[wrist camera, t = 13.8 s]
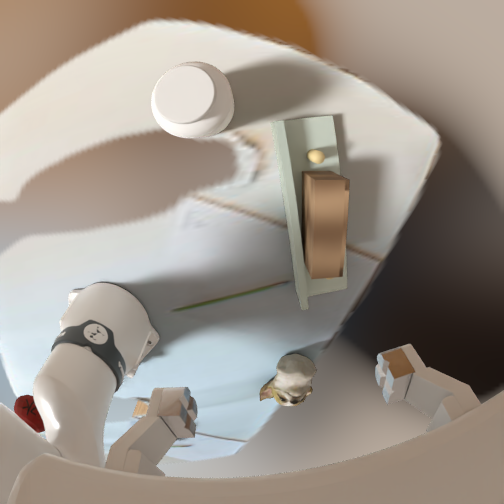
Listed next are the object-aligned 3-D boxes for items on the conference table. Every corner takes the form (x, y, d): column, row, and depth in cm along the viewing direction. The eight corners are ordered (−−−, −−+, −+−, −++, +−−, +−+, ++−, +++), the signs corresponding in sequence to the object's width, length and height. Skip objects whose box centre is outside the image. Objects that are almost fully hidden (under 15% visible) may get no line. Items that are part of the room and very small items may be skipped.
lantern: (70, 387, 56) (31, 479, 29) (40, 370, 54) (-5, 455, 27) (73, 369, 53) (26, 470, 26) (41, 349, 51) (-14, 443, 23)
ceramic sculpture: (335, 381, 43) (309, 423, 50) (325, 346, 51) (304, 391, 57) (273, 380, 42) (257, 423, 49) (269, 342, 50) (256, 389, 57)
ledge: (343, 282, 45) (353, 299, 40) (296, 291, 46) (301, 310, 41) (328, 116, 35) (340, 114, 30) (270, 122, 35) (274, 121, 30)
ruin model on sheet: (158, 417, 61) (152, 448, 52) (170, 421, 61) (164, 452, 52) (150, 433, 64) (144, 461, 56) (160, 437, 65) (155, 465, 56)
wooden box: (327, 253, 41) (342, 276, 34) (301, 255, 41) (311, 279, 34) (331, 170, 36) (349, 180, 30) (301, 170, 36) (314, 180, 30)
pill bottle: (246, 96, 34) (249, 74, 20) (215, 147, 36) (200, 156, 22) (194, 71, 32) (166, 38, 18) (165, 121, 34) (121, 118, 21)
